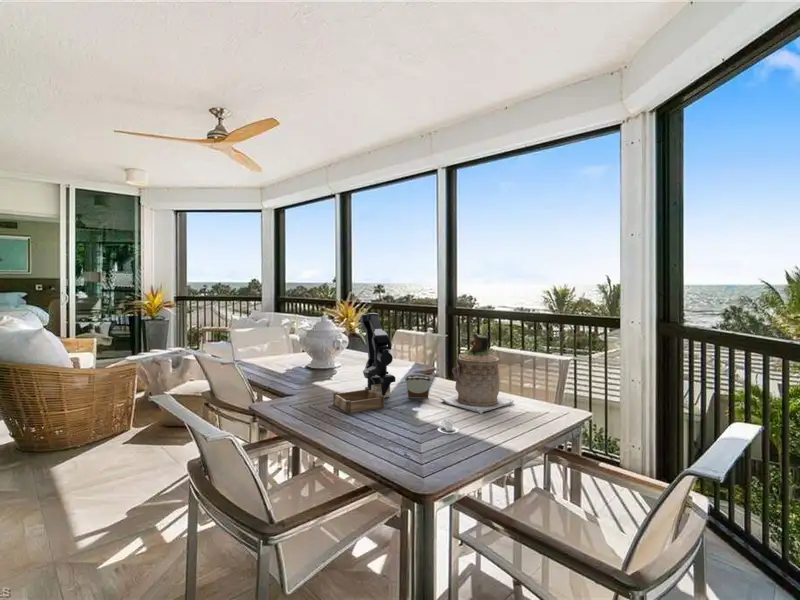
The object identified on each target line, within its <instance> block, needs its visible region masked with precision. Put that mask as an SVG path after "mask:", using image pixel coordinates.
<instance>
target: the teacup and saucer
mask: <svg viewBox="0 0 800 600" xmlns="http://www.w3.org/2000/svg"><path fill="white" fill-rule="evenodd" d="M442 429H445V431H443V430H442ZM453 429H454V430H455V431H452V430H453ZM451 431H452V432H451ZM437 432H440V433H442V434H447V435H451V434H457V433H460V428H458V427H456V426H454V420H453V419H452V418H445V419H444V421H441V422H439V423H438V428H437Z"/></svg>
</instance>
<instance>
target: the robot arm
mask: <svg viewBox="0 0 800 600" xmlns="http://www.w3.org/2000/svg"><path fill="white" fill-rule="evenodd" d="M359 323H361V327H362V329H363V330H364V331H365V338H366V348H367V355H368V358H367V360H366V363H365V368H364V369H363V370H362V374H363V376H364V378H365V379H367V386H366V387H365V386H364V389H365V388H369V390H371V385H375V384H381V387H382V395H385V394H386V392H387V390H388V388H389V386H390V387H391V384H392V383H396V376H394V375H393V374H391V373H389V371H388V369H387V368H388V367H389V366H390V364H392V362H393V360H394V358H393V355H392V353H390V352H389V351H390V350H392V342H391V338H390V337H389V335H388V334H387V332H386V330H385V331H384V330H383V328H382V324H381V323H380V320H379V313H376V312H368V313H363V314H362V315H361V316H360V317H359ZM387 366H388V367H387Z"/></svg>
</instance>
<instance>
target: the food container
mask: <svg viewBox="0 0 800 600" xmlns="http://www.w3.org/2000/svg"><path fill="white" fill-rule="evenodd" d="M404 381H405V382H406V390H407V392H406V393H407V398H408V399H429V393H430V386H431V385H430V384H431V382H432V378H431V376H430V375H427V374H421V373H420V374H419V373H417V374H416V373H415V374H408V375H406V377H405V379H404Z"/></svg>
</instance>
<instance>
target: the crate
mask: <svg viewBox="0 0 800 600" xmlns="http://www.w3.org/2000/svg"><path fill="white" fill-rule="evenodd" d="M333 405H335V406H336V407H338V408H340V409H341V410H342V411H344V412H345V413H347V414H351V413H357V412H358V413H359V412H363V411H371V410H377V409H383V408H385V397H384V396H383V395H381V396H380V395H378V394H377V393H375V392H373V391H371V390H369V388H365V387H364V389H359V390H353V391H352V390H351V391H345V392H336V391H334V392H333Z"/></svg>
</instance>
